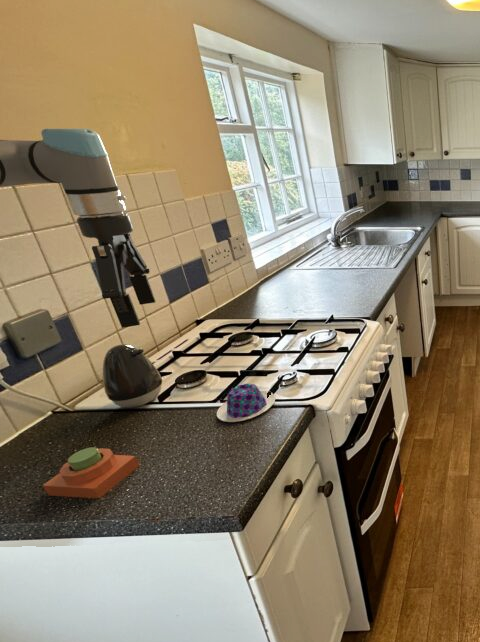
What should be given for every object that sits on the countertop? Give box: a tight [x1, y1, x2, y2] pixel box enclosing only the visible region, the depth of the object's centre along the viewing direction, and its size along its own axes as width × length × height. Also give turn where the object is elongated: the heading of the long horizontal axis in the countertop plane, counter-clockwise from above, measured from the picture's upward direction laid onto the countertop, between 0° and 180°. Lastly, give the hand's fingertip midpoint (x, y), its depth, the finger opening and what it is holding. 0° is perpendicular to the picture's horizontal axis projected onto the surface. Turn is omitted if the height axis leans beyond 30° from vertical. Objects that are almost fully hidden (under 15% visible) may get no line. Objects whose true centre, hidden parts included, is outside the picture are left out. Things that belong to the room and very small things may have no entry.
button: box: [67, 446, 102, 471], centre depth 75 cm, size 4×4×2 cm
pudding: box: [216, 383, 276, 423], centre depth 97 cm, size 12×12×5 cm
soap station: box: [42, 447, 140, 499], centre depth 77 cm, size 10×8×4 cm
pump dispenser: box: [102, 344, 163, 408], centre depth 97 cm, size 10×10×15 cm
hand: (140, 313), depth 88 cm, fingers open, 13 cm apart
